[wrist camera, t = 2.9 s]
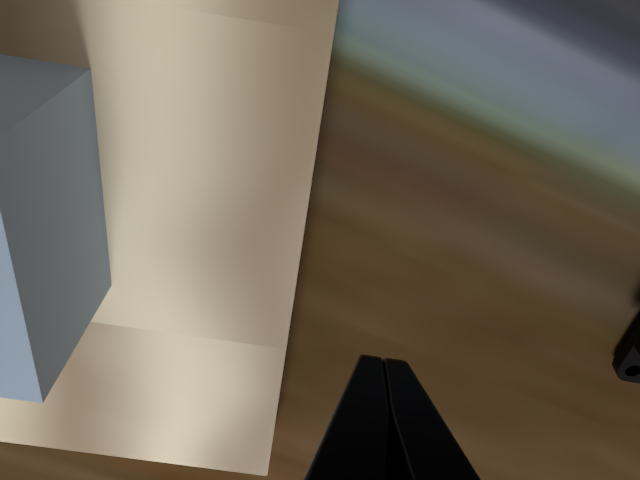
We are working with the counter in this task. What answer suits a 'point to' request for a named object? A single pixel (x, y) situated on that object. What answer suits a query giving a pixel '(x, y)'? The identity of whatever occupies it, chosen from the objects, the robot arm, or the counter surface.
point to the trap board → (185, 220)
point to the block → (47, 222)
